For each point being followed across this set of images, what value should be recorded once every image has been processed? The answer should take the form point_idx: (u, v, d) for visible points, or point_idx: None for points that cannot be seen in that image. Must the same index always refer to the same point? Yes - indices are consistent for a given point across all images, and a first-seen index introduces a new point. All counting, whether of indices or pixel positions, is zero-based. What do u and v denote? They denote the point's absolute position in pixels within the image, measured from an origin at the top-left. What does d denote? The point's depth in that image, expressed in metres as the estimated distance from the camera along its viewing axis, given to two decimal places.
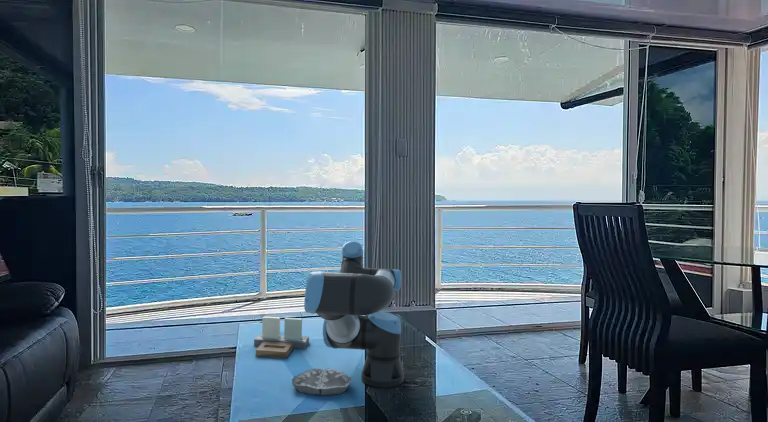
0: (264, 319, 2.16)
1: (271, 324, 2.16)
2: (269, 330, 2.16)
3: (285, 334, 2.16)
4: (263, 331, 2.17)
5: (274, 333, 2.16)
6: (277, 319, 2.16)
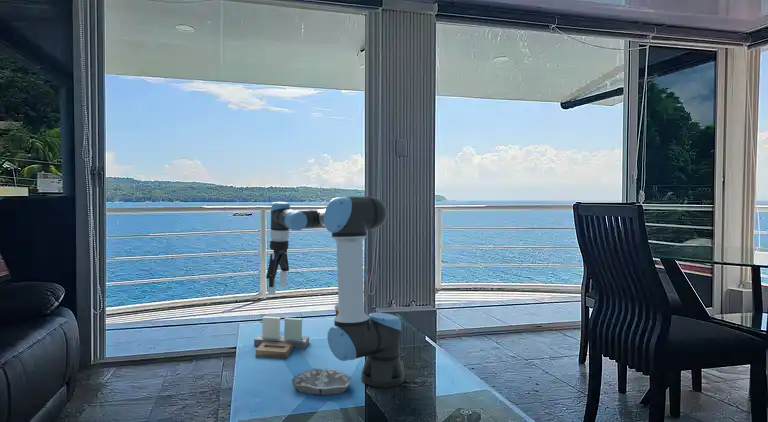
0: (264, 319, 2.16)
1: (271, 324, 2.16)
2: (269, 330, 2.16)
3: (285, 334, 2.16)
4: (263, 331, 2.17)
5: (274, 333, 2.16)
6: (277, 319, 2.16)
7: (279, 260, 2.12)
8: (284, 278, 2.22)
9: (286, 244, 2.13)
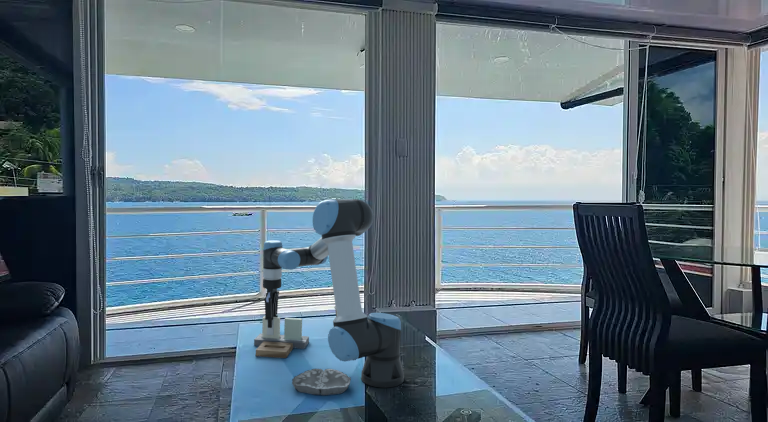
0: (264, 319, 2.16)
1: None
2: None
3: (285, 334, 2.16)
4: (263, 331, 2.17)
5: (274, 333, 2.16)
6: (277, 319, 2.16)
7: (273, 300, 2.14)
8: None
9: (279, 282, 2.14)
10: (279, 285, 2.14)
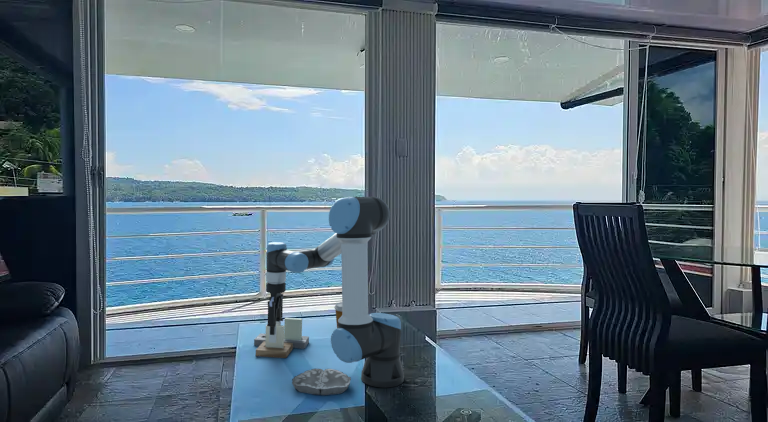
0: (267, 327, 2.05)
1: None
2: None
3: (285, 334, 2.16)
4: (266, 340, 2.06)
5: (278, 342, 2.05)
6: (281, 327, 2.05)
7: (277, 305, 2.02)
8: None
9: (283, 286, 2.03)
10: (283, 289, 2.03)
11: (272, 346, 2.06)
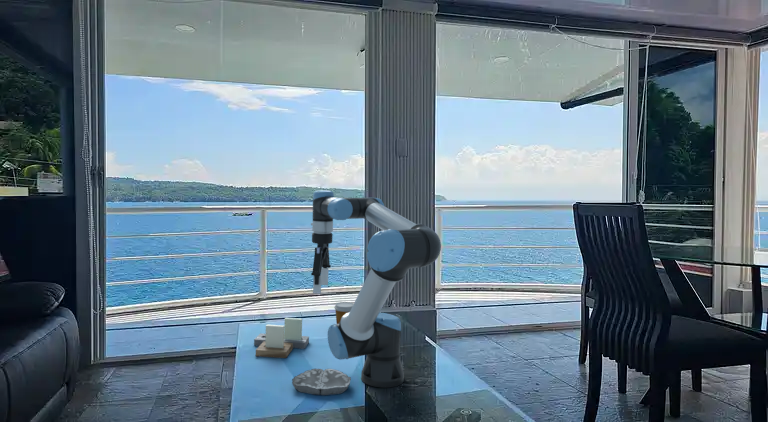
0: (267, 327, 2.05)
1: (274, 333, 2.05)
2: (273, 339, 2.05)
3: (285, 334, 2.16)
4: (266, 340, 2.06)
5: (278, 342, 2.05)
6: (281, 327, 2.05)
7: (324, 255, 1.90)
8: (326, 276, 2.00)
9: (331, 237, 1.91)
10: (330, 240, 1.91)
11: (272, 346, 2.06)
